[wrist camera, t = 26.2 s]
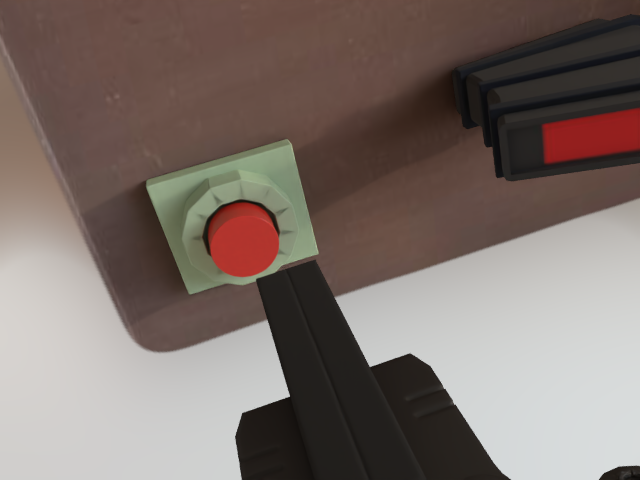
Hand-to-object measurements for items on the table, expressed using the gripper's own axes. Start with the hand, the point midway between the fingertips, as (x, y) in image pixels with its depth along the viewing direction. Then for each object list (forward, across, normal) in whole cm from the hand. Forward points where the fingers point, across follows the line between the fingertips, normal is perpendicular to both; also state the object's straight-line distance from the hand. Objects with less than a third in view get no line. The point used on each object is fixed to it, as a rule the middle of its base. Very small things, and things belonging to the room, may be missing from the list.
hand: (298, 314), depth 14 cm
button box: (+22, -1, -7) cm, 23 cm away
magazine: (+22, +19, -3) cm, 29 cm away
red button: (+20, -1, -7) cm, 21 cm away
